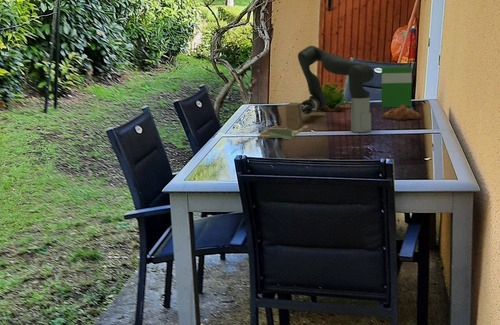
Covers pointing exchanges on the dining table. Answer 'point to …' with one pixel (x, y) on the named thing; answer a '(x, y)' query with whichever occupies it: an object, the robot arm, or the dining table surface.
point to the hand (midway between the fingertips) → (299, 111)
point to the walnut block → (294, 116)
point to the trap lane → (280, 132)
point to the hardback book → (396, 86)
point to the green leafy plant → (333, 96)
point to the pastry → (401, 113)
